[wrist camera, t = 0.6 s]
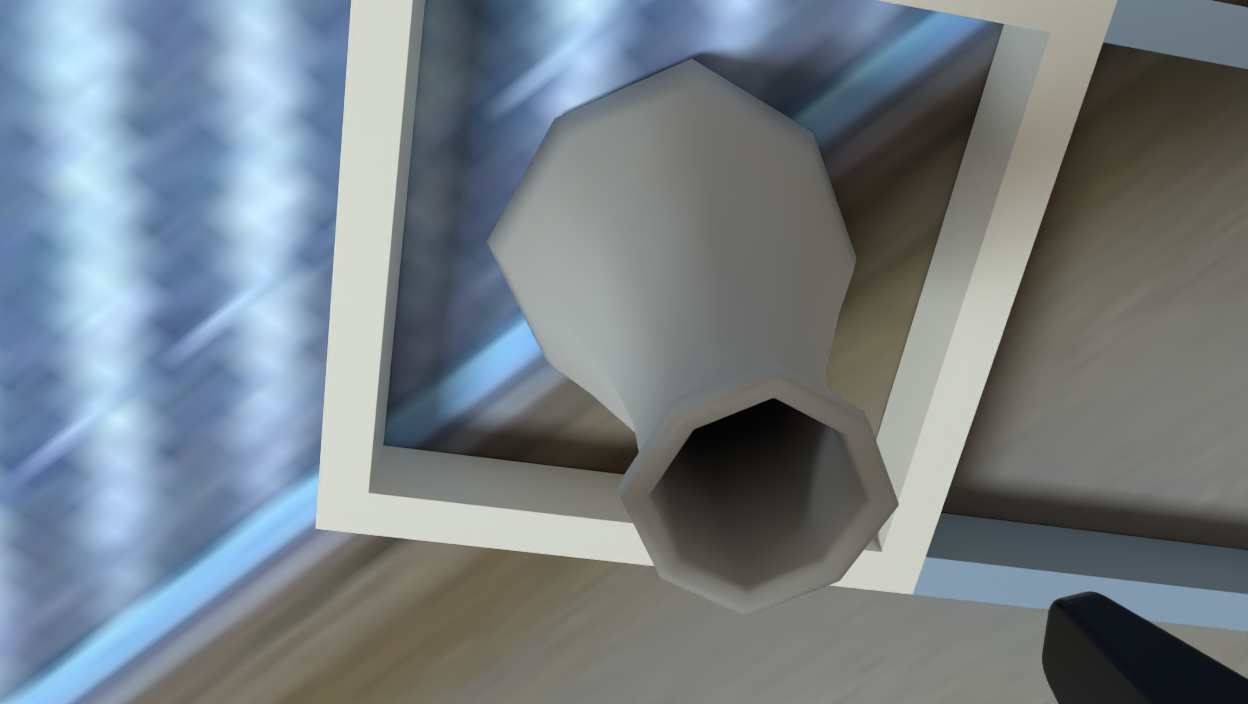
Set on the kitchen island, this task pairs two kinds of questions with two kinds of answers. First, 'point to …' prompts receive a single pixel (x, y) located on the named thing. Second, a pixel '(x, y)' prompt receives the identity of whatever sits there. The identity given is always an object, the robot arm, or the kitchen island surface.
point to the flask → (704, 328)
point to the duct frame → (925, 381)
